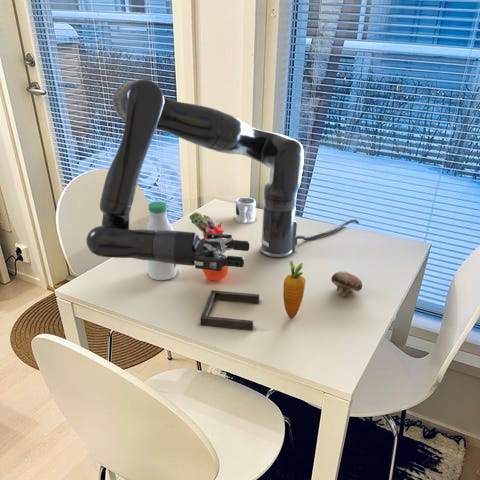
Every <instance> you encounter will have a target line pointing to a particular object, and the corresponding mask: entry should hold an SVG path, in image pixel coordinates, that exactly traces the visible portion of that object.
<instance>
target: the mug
mask: <svg viewBox="0 0 480 480" xmlns="http://www.w3.org/2000/svg"><path fill="white" fill-rule="evenodd" d="M256 203H257V201H256V199H255V198H252V197H246V196H245V197H244V196H243V197H238V198H236V199H235V221H236V222H237V223H240V224H251V223H254V222H255V221H256V205H257V204H256Z"/></svg>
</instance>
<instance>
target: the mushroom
mask: <svg viewBox="0 0 480 480" xmlns="http://www.w3.org/2000/svg"><path fill="white" fill-rule="evenodd" d="M330 280H331V283H333V285H335V286H336V291H337V292H338V293H339V294H340V295H341V296H343V297H346V295H347V293H348V292H351V291H352V292H359V291H361V290H362V288H363V282H362V280H361V278H359V277H358V276H357V275H355V274H353V273H351V272H348V271H343V270H342V271H337V272H335V273H334V274H332V276H331V279H330Z"/></svg>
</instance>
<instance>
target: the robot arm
mask: <svg viewBox="0 0 480 480" xmlns="http://www.w3.org/2000/svg"><path fill="white" fill-rule="evenodd" d="M112 105H113V109H114V112H115V113H116V114H117V116H118V117H119V118H120V119H121V120H122V121H123V122H124V128H123V133H122V138H121V140H120V144H119V146H118V149H117V151H116V153H115V156H114V158H113V160H112V161H111V164H110V166H109V167H108V171H107V172H106V173H107V174H106V176H105V180H104V182H103V188H102V191H101V196H100V200H99V210H100V211H101V213H102V219H101V225H97V226H95V227H94V228H92V229H90V230H89V232H88V234H87V236H86V242H85V243H86V246H87V248H88V250H89V251H90V252H91V254H93V255H95V256H96V257H97V256H98V257H101V258H114V259H115V258H116V259H135V260H141V261H146V262H147V261H157V262H162V263H168V264H176V265H179V266H188V267H189V266H190V267H194V268H195V269H199V270H203V269H206V270H214V271H221V270H222V268H225V267H226V266H228V267H232V268H243V267H244V265H245V257H244V256H237V255H225V252H226V251H227V252H228V251H232V250H233V251H240V252H241V251H242V252H243V251H244V252H249V250H250V241H249V240H242V239H241V240H240V239H234V238H233V235H232V234H225V233H223V234H210V233H209V234H207V239H203V238H200V235H199V234H198V232H195V231H194V232H193V231H181V230H180V231H179V230H173V231H171V230H163V231H157V230H146V229H143V228H141V229H139V228H138V229H130V215H131V211H132V206H133V203H134V198H135V194H136V190H137V186H138V182H139V178H140V175H141V172H142V168H143V164H144V162H145V159H146V156H147V154H148V151H149V148H150V145H151V143H152V140H153V138H154V135H155V132H156V131H161V132H165V133H168V134H171V135H173V136H175V137H177V138H180V139H182V140H185V141H187V142H189V143H191V144H195V145H196V146H197V145H198V146H199V147H202V148H205V149H208V150H211V151H214V152H218V153H221V154H227V155H240V156H244V157H247V158H250V159H252V160H255V161H257V162H259V163H260V164H262V165H264V166H266V167H267V168H270V169H271V170H273V173H272V181H269V182H268V183H266V184H265V185H264V188H263V208H262V226H261V227H262V228H261V239H260V243H261V244H260V245H261V246H260V251H261V253H262V254H263V255H265V256H267V257H270V258H285V257H289V256H290V255H292V254H293V253H295V251H296V245H297V244H298V240H303V241H312V240H315V239H318V238H321V237H324V236H327V235H330V234H334V233H336V232H338V231H339V230H341V229H342V228H343V227H345V226H347V225H350V224H351V223H355V224H357V225H358V224H360V221H359V220H358V219H356V218H355V219H354V218H352V219H349V220H348V221H345V222H342V223H341V224H340V225H339V226H337V227H336V228H334V229H331V230H328V231H325V232H321V233H318V234H315V235H311V236H305V235H297V229H298V222H297V221H296V220H295V218H296V205H297V195H298V194H297V193H298V192H299V191H298V190H299V189H300V187H301V182H302V175H303V168H304V159H305V154H304V147H303V145H302V144H301V142H299V141H298V140H296V139H295V138H291V137H289V136H286V135H284V134H280V133H276V132H270V131H265V130H262V129H258V128H255V127H253V126H250V125H248V124H247V123H246V122H244V121H243V120H241V119H239V118H237V117H235V116H233V115H231V114H229V113H227V112H223V111H221V110H218V109H215V108H212V107H208V106H204V105H200V104H194V103H188V102H182V101H177V100H173V99H171V98H168V97H166V96H164V93H163V91H162V89H161V88H160V86H159V85H158V84H157V83H155V82H154V81H153V80H149V79H143V78H141V79H135V80H128V81H126V82H124V83H121V84H120V85H119V86H118V87H116V89H115V90H114V93H113V96H112ZM202 239H203V240H202ZM211 264H212V265H214V266H212V265H211Z"/></svg>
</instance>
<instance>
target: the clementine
mask: <svg viewBox="0 0 480 480" xmlns="http://www.w3.org/2000/svg"><path fill="white" fill-rule="evenodd" d="M211 265H212V264H211ZM212 266H214V265H212ZM202 272H203V274H204V276H205V277H206V278H207V279H208V280H211V281H213V282H218V281H221V280H223V279H224V278H225V277H226V276H227V275H228V272H229V266H226V267H225V268H222V270H221V271H214V270H206V269H202Z"/></svg>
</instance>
